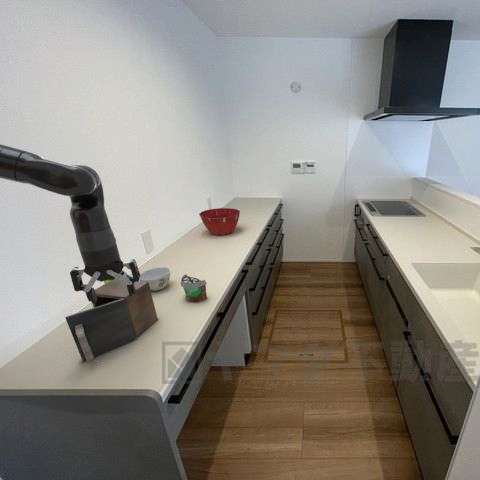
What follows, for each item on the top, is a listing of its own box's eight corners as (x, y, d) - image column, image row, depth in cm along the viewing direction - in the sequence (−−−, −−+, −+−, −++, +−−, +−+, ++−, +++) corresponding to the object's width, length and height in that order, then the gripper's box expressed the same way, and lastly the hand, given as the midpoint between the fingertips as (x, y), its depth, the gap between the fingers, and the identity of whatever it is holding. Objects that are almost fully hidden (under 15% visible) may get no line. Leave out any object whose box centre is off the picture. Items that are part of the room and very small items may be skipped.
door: (139, 348, 87) (127, 306, 81) (85, 372, 78) (66, 327, 72) (135, 338, 91) (123, 298, 86) (82, 360, 82) (65, 316, 76)
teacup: (154, 280, 130) (151, 266, 127) (178, 282, 128) (175, 267, 126) (131, 297, 116) (126, 281, 113) (158, 299, 114) (154, 283, 112)
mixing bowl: (247, 227, 210) (245, 208, 205) (233, 239, 184) (230, 218, 178) (213, 225, 213) (211, 207, 207) (194, 237, 186) (191, 216, 181)
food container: (177, 300, 114) (173, 279, 111) (189, 293, 119) (185, 273, 116) (197, 307, 109) (193, 286, 106) (209, 299, 114) (205, 279, 111)
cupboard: (137, 338, 92) (125, 297, 86) (102, 333, 94) (88, 293, 88) (158, 320, 101) (148, 281, 95) (126, 316, 103) (114, 278, 97)
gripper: (55, 254, 62) (76, 311, 68) (128, 245, 68) (141, 299, 74) (68, 243, 68) (86, 296, 74) (133, 236, 74) (145, 286, 80)
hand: (113, 298), depth 74 cm, fingers open, 8 cm apart
